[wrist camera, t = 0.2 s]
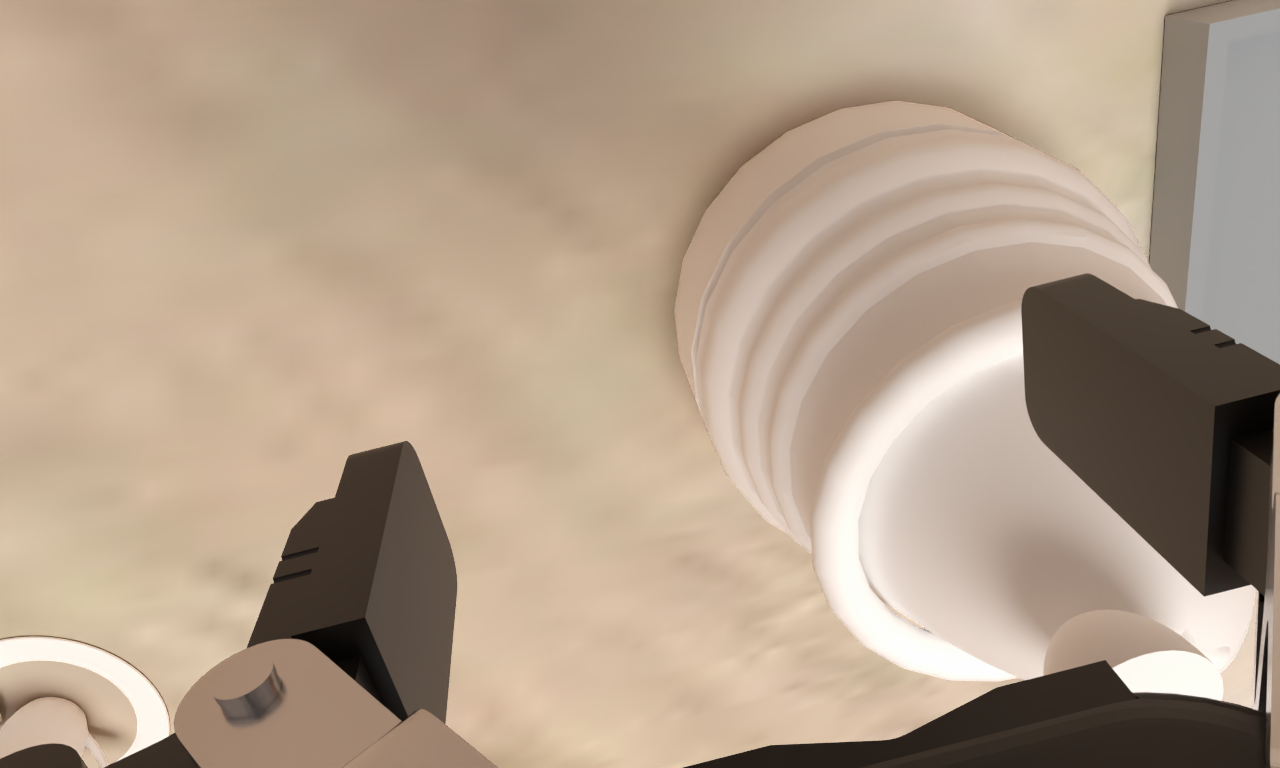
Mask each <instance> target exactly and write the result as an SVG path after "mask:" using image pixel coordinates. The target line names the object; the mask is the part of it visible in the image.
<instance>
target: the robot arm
mask: <svg viewBox="0 0 1280 768" xmlns="http://www.w3.org/2000/svg"><path fill="white" fill-rule="evenodd" d="M1021 314H1022V337H1023V361H1024V384H1025V401H1026V407H1027V411H1028V414H1029V418H1030V421H1031V423H1032V426H1033V428H1034V430H1035V432H1036V433H1037V435H1038V437H1039V438H1040V440H1041V441H1042V442H1043V443H1044V444H1045V445H1046V446H1047V447H1048V448H1049V449H1050V450H1051V451H1052V452H1053V453H1054V454H1055V455H1056V456H1057V457H1058V458H1059V459H1060V460H1061V461H1063V462H1064V463H1065V464H1066V465H1067V466H1068V467H1069V468H1070V469H1071V470H1072V471H1073V472H1074V473H1075V474H1076V475H1077V476H1078V477H1079V478H1080V479H1081V480H1082V481H1083V482H1085V483H1086V484H1087V485H1088V486H1089V487H1090V488H1091V489H1092V490H1093V491H1094V492H1095V493H1096V494H1097V495H1098V496H1099V497H1100V498H1101V499H1102V500H1103V501H1104V502H1105V503H1107V504H1108V505H1109V506H1110V507H1111V508H1112V509H1113V510H1114V511H1115V512H1116V513H1117V514H1118V515H1119V516H1120V517H1121V518H1122V519H1123V520H1124V521H1125V522H1126V523H1127V524H1129V525H1130V526H1131V527H1132V528H1133V529H1134V530H1135V531H1136V532H1137V533H1138V534H1139V535H1140V536H1141V537H1142V538H1143V539H1144V540H1145V541H1146V542H1147V543H1148V544H1149V545H1150V546H1152V547H1153V548H1154V549H1155V550H1156V551H1157V552H1158V553H1159V554H1160V555H1161V556H1162V557H1163V558H1164V559H1165V560H1166V561H1167V562H1168V563H1169V564H1170V565H1171V566H1172V567H1174V568H1175V569H1176V570H1177V571H1178V572H1179V573H1180V574H1181V575H1182V576H1183V577H1184V578H1185V579H1186V580H1187V581H1188V582H1189V583H1190V584H1191V585H1192V586H1193V587H1194V588H1196V589H1197V590H1198V591H1199V592H1200V593H1201V594H1202V595H1203V596H1204V597H1205V596H1209V595H1213V594H1217V593H1221V592H1225V591H1229V590H1233V589H1237V588H1240V587H1244V586H1248V585H1252V586H1253V587H1254V588H1255V589H1257V590H1258V601H1257V613H1256V630H1255V654H1254V678H1253V701H1252V709H1251V708H1248V707H1244V706H1241V705H1238V704H1233V703H1229V702H1224V701H1219V700H1215V699H1210V698H1205V697H1197V696H1190V695H1182V694H1173V693H1152V692H1136V693H1132V692H1131V691H1130V689H1129V688H1128V687H1127V686H1126V684H1125V683H1124V682H1123V681H1122V680H1121V678H1120V677H1119V676H1118V675H1117V673H1116V672H1115V671H1114V670H1113V669H1112V667H1111V666H1110V665H1109V664H1108V662H1107V661H1106V660H1103V661H1099V662H1096V663H1092V664H1088V665H1084V666H1080V667H1076V668H1072V669H1068V670H1064V671H1060V672H1056V673H1052V674H1049V675H1045V676H1041V677H1037V678H1033V679H1029V680H1025V681H1021V682H1017V683H1013V684H1009V685H1005V686H1001V687H998V688H995V689H993V690H991V691H989V692H987V693H986V694H984V695H982V696H980V697H978V698H976V699H974V700H972V701H970V702H968V703H966V704H964V705H962V706H960V707H958V708H956V709H954V710H953V711H951V712H949V713H947V714H945V715H943V716H941V717H939V718H937V719H935V720H933V721H931V722H929V723H927V724H925V725H923V726H921V727H920V728H918V729H916V730H914V731H912V732H910V733H908V734H906V735H904V736H901V737H899V738H895V739H891V740H883V741H862V742H839V743H815V744H792V745H770V746H766V747H762V748H758V749H755V750H751V751H747V752H743V753H739V754H735V755H731V756H727V757H723V758H719V759H715V760H711V761H707V762H704V763H700V764H696V765H692V766H688V767H684V768H1280V364H1278V363H1276V362H1274V361H1273V360H1271V359H1269V358H1267V357H1266V356H1264V355H1262V354H1260V353H1258V352H1257V351H1255V350H1253V349H1251V348H1249V347H1248V346H1246V345H1244V344H1242V343H1239V344H1236V343H1235V339H1233V338H1231V337H1230V336H1228V335H1226V334H1224V333H1222V332H1221V331H1219V330H1217V329H1214V330H1211V328H1210V325H1208V324H1206V323H1204V322H1203V321H1201V320H1199V319H1197V318H1196V317H1194V316H1192V315H1190V314H1188V313H1187V312H1185V311H1183V310H1181V309H1178V308H1174V307H1170V306H1166V305H1162V304H1158V303H1154V302H1150V301H1146V300H1142V299H1134V298H1132V297H1130V296H1129V295H1127V294H1125V293H1124V292H1122V291H1120V290H1118V289H1117V288H1115V287H1113V286H1112V285H1110V284H1108V283H1106V282H1105V281H1103V280H1101V279H1100V278H1098V277H1096V276H1094V275H1092V274H1089V273H1085V274H1081V275H1077V276H1073V277H1069V278H1065V279H1061V280H1057V281H1053V282H1049V283H1045V284H1041V285H1037V286H1033V287H1029V288H1028V289H1027V290H1026V291H1025V293H1024V295H1023V299H1022V306H1021ZM281 557H282V561H280V562H279V564H278V567H277V569H276V572H275V575H274V577H273V580H274V584H271V585H270V588H269V590H268V593H267V596H266V598H265V601H264V604H263V606H262V609H261V612H260V614H259V617H258V620H257V622H256V625H255V628H254V630H253V633H252V636H251V638H250V641H249V644H248V646H247V649H244V650H242V651H240V652H238V653H236V654H234V655H232V656H231V657H229V658H227V659H225V660H224V661H222V662H221V663H219V664H218V665H216V666H215V667H213V668H212V669H211V670H209V671H208V672H207V673H206V674H205V675H204V676H202V677H201V678H200V679H199V680H198V681H197V682H196V683H195V684H194V685H193V686H192V687H191V689H190V690H189V691H188V692H187V694H186V695H185V696H184V698H183V700H182V701H181V703H180V705H179V707H178V709H177V712H176V714H175V719H174V729H175V733H174V734H172V735H170V736H168V737H166V738H164V739H163V740H161V741H159V742H157V743H155V744H152V745H150V746H148V747H146V748H144V749H142V750H140V751H138V752H136V753H134V754H131V755H129V756H127V757H125V758H123V759H121V760H119V761H117V762H115V763H112V764H110V765H108V766H106V767H104V768H498V767H497V766H496V765H494V764H493V763H492V762H491V761H490V760H488V759H487V758H486V757H485V756H483V755H482V754H481V753H480V752H479V751H477V750H476V749H475V748H474V747H472V746H471V745H470V744H469V743H467V742H466V741H465V740H464V739H463V738H461V737H460V736H459V735H458V734H456V733H455V732H454V731H453V730H451V729H450V728H449V727H448V726H447V725H445V721H446V710H447V698H448V687H449V676H450V664H451V653H452V642H453V630H454V619H455V607H456V596H457V575H456V568H455V562H454V557H453V553H452V549H451V546H450V543H449V540H448V537H447V534H446V531H445V529H444V526H443V523H442V521H441V518H440V515H439V512H438V510H437V507H436V504H435V502H434V499H433V496H432V493H431V491H430V488H429V485H428V483H427V480H426V477H425V475H424V472H423V469H422V466H421V464H420V461H419V459H418V456H417V454H416V452H415V450H414V448H413V446H412V445H411V444H410V443H409V442H408V441H405V442H401V443H397V444H393V445H389V446H385V447H381V448H377V449H373V450H369V451H364V452H360V453H356V454H352V455H350V456H349V457H348V459H347V462H346V465H345V468H344V471H343V474H342V477H341V480H340V483H339V486H338V490H337V493H336V496H335V498H332V499H328V500H324V501H320V502H316V503H315V504H314V506H313V507H312V508H311V509H310V510H309V511H308V512H307V513H306V514H305V515H304V516H303V518H302V519H301V520H300V521H299V522H298V523H297V524H296V525H295V526H294V527H293V528H292V529H291V532H290V535H289V537H288V540H287V543H286V545H285V548H284V551H283V553H282V556H281ZM0 768H87V766H86V764H85V763H84V761H83V760H82V758H81V757H80V755H79V754H78V752H77V751H76V750H75V749H73V748H72V747H71V746H68V745H64V744H55V743H51V744H41V745H37V746H33V747H29V748H26V749H23V750H20V751H17V752H14V753H12V754H10V755H8V756H5V757H3V758H1V759H0Z"/></svg>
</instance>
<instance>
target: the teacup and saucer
mask: <svg viewBox="0 0 1280 768" xmlns="http://www.w3.org/2000/svg"><path fill="white" fill-rule="evenodd" d="M36 660H46V661H58V662H64V663H69V664H73V665H77V666H80V667H83V668H86V669H88V670H91V671H93V672H95V673H97V674H99V675H101V676H103V677H105V678H106V679H108V680H109V681H111V682H112V683H113V684H115V685H116V686H117V687H118V688H119V689H120V690H121V691H122V692H123V693H124V694H125V695H126V696H127V698H128V699H129V701H130V702H131V704H132V706H133V708H134V710H135V713H136V717H137V734H136V737H135V740H134V742H133V744H132V746H131V747H130V749H129V750H128V751H127V752H126V753H125V755H123V756H122V757H121V758H120V759H119V760H121V759H123V758H125V757H127V756H129V755H131V754H134V753H136V752H138V751H140V750H142V749H144V748H146V747H148V746H150V745H152V744H155V743H157V742H159V741H161V740H163V739H164V738H166V737H168V736H169V735H170V721H169V715H168V712H167V709H166V706H165V704H164V701H163V699H162V698H161V696H160V694H159V693H158V691H157V690H156V688H155V687H154V686H153V685H152V683H151V682H150V681H149V680H148V679H147V678H146V677H145V676H144V675H143V674H142V673H140V672H139V671H138V670H137V669H135V668H134V667H133V666H131V665H130V664H128V663H127V662H125V661H124V660H122V659H120V658H119V657H117V656H115V655H113V654H111V653H109V652H106V651H104V650H102V649H99V648H97V647H94V646H91V645H88V644H84V643H81V642H77V641H72V640H67V639H62V638H54V637H40V636H28V637H15V638H8V639H2V640H0V668H1V667H4V666H7V665H10V664H14V663H19V662H25V661H36ZM0 723H1V713H0ZM51 743H55V744H64V745H68V746H71V747H72V748H73V749H75V750H76V751H77V752H78V754H79V755H80V757H81V758H82V755H83V752H84V748H85V747H86V748H88V749H89V750H90V751H91V753H92V754H93V756H94V757H95V759H96V761H97V763H98V765H99V767H100V768H104V767H106V766H108V765H109V764H108V761H107V759H106V757H105V755H104V753H103V751H102V749H101V748H100V746H99V745H98V743H97V742H96V740H95V739H94V738H93V737H92V736H91V735H90V733H89V732H88V727H87V721H86V716H85V714H84V712H83V711H82V709H81V708H80V707H79V706H77V705H76V704H74V703H73V702H71V701H69V700H66V699H63V698H58V697H42V698H38V699H35V700H33V701H31V702H29V703H27V704H26V705H24V706H23V707H21V708H20V709H19V710H18V711H16V712H15V713H14V714H13V715H12V716H11V717H10V718H9V719H8V720H7V721H6V722H5V724H4V725H3V726H2V727H1V728H0V759H1V758H3V757H5V756H8V755H10V754H12V753H14V752H17V751H20V750H23V749H26V748H29V747H33V746H37V745H41V744H51ZM119 760H117V761H119ZM117 761H116V762H117ZM114 763H115V762H114Z"/></svg>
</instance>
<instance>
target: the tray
mask: <svg viewBox="0 0 1280 768" xmlns="http://www.w3.org/2000/svg"><path fill="white" fill-rule="evenodd" d="M1149 264H1150V266H1151V268H1152V270H1153V271H1154V272H1155V273H1156V274H1157V275H1158V276H1159V277H1160V278H1161V279H1162V280H1163V281H1164V282H1165V283H1166V284H1167V286H1168V288H1169V290H1170V292H1171V294H1172V296H1173V298H1174V300H1175V303H1176V305H1177V307H1178V309H1181V310H1183V311H1185V312H1187V313H1188V314H1190V315H1192V316H1194V317H1196V318H1197V319H1199V320H1201V321H1203V322H1204V323H1206V324H1208V325H1210V328H1211V330H1214V329H1217V330H1219V331H1221V332H1222V333H1224V334H1226V335H1228V336H1230V337H1231V338H1233V339H1235V343H1236V344H1239V343H1242V344H1244V345H1246V346H1248V347H1249V348H1251V349H1253V350H1255V351H1257V352H1258V353H1260V354H1262V355H1264V356H1266V357H1267V358H1269V359H1271V360H1273V361H1274V362H1276V363H1278V364H1280V0H1233V1H1229V2H1224V3H1220V4H1215V5H1211V6H1206V7H1202V8H1197V9H1193V10H1188V11H1184V12H1180V13H1175V14H1171V15H1166V16H1165V31H1164V46H1163V61H1162V77H1161V92H1160V107H1159V122H1158V138H1157V153H1156V168H1155V183H1154V199H1153V214H1152V229H1151V245H1150V260H1149Z"/></svg>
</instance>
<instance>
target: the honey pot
mask: <svg viewBox="0 0 1280 768" xmlns="http://www.w3.org/2000/svg"><path fill="white" fill-rule="evenodd" d="M1085 273H1089V274H1092V275H1094V276H1096V277H1098V278H1100V279H1101V280H1103V281H1105V282H1106V283H1108V284H1110V285H1112V286H1113V287H1115V288H1117V289H1118V290H1120V291H1122V292H1124V293H1125V294H1127V295H1129V296H1130V297H1132V298H1134V299H1142V300H1146V301H1150V302H1154V303H1158V304H1162V305H1166V306H1170V307H1174V308H1178V307H1177V305H1176V303H1175V300H1174V298H1173V296H1172V294H1171V292H1170V290H1169V288H1168V286H1167V284H1166V283H1165V282H1164V281H1163V280H1162V279H1161V278H1160V277H1159V276H1158V275H1157V274H1156V273H1155V272H1154V271H1153V270H1152V268H1151V266H1150V264H1149V262H1148V260H1147V258H1146V256H1145V254H1144V253H1143V251H1142V249H1141V247H1140V245H1139V243H1138V241H1137V239H1136V237H1135V235H1134V233H1133V231H1132V229H1131V227H1130V225H1129V223H1128V221H1127V219H1126V217H1125V216H1124V214H1123V213H1122V212H1121V211H1120V210H1119V209H1118V208H1117V207H1116V206H1115V205H1114V204H1113V203H1112V202H1111V201H1110V200H1109V199H1108V198H1107V197H1106V196H1105V195H1104V194H1103V193H1102V192H1101V191H1100V190H1099V189H1098V188H1097V187H1095V186H1094V185H1093V184H1092V183H1091V182H1090V181H1089V180H1088V179H1087V178H1086V177H1085V176H1084V175H1083V174H1082V173H1081V172H1080V171H1079V170H1078V169H1076V168H1074V167H1072V166H1070V165H1068V164H1066V163H1063V162H1061V161H1059V160H1058V159H1056V158H1053V157H1051V156H1049V155H1047V154H1045V153H1043V152H1041V151H1039V150H1037V149H1035V148H1033V147H1031V146H1029V145H1027V144H1025V143H1023V142H1021V141H1019V140H1017V139H1014V138H1012V137H1010V136H1008V135H1006V134H1004V133H1002V132H1000V131H998V130H996V129H994V128H992V127H990V126H987V125H985V124H983V123H981V122H979V121H977V120H975V119H972V118H970V117H968V116H966V115H964V114H962V113H960V112H957V111H955V110H953V109H951V108H949V107H942V106H934V105H927V104H919V103H912V102H904V101H897V100H895V101H889V102H882V103H875V104H868V105H861V106H855V107H848V108H841V109H838V110H836V111H834V112H831V113H829V114H827V115H824V116H822V117H820V118H817V119H815V120H813V121H810V122H808V123H806V124H803V125H801V126H799V127H796V128H794V129H792V130H789V131H787V132H786V133H785V134H783V135H782V136H781V137H779V138H778V139H777V140H775V141H774V142H773V143H771V144H770V145H769V146H767V147H766V148H765V149H763V150H762V151H761V152H759V153H758V154H757V155H756V156H754V157H753V158H752V159H750V160H749V161H748V162H746V163H745V164H744V165H742V166H741V167H740V168H739V170H738V171H737V172H736V173H735V175H734V176H733V177H732V178H731V180H730V181H729V182H728V183H727V185H726V186H725V187H724V188H723V189H722V191H721V192H720V193H719V194H718V196H717V197H716V198H715V199H714V201H713V202H712V203H711V204H710V206H709V207H708V208H707V209H706V210H705V213H704V215H703V217H702V219H701V221H700V223H699V226H698V228H697V230H696V232H695V234H694V236H693V239H692V241H691V243H690V245H689V247H688V249H687V252H686V254H685V256H684V258H683V261H682V267H681V273H680V278H679V284H678V290H677V296H676V302H675V307H674V313H675V323H676V332H677V341H678V350H679V358H680V360H681V363H682V366H683V368H684V371H685V374H686V376H687V379H688V382H689V384H690V387H691V390H692V392H693V395H694V398H695V400H696V403H697V405H698V408H699V410H700V413H701V416H702V418H703V421H704V423H705V425H706V429H707V432H708V434H709V437H710V439H711V441H712V444H713V446H714V448H715V451H716V453H717V455H718V458H719V460H720V462H721V465H722V467H723V469H724V472H725V474H726V476H727V477H728V478H729V479H730V480H731V482H732V483H733V484H734V485H735V486H736V487H737V489H738V490H739V491H740V492H741V493H742V494H743V495H744V497H745V498H746V499H747V500H748V501H749V502H750V504H751V505H752V506H753V507H754V508H755V509H756V510H757V512H758V513H759V514H760V515H761V516H762V517H763V519H764V520H765V521H767V522H769V523H770V524H772V525H773V526H775V527H777V528H778V529H780V530H781V531H783V532H785V533H786V534H788V535H789V536H791V537H792V538H793V540H794V541H795V542H796V543H798V544H799V545H801V546H803V547H804V548H806V550H807V551H808V552H809V553H810V554H811V556H812V563H813V568H814V570H815V573H816V575H817V578H818V580H819V583H820V586H821V588H822V591H823V593H824V596H825V598H826V601H827V603H828V606H829V608H830V609H831V610H832V611H833V613H834V614H835V615H836V616H837V617H838V618H839V620H840V621H841V622H842V623H843V624H844V625H845V626H846V628H847V629H848V630H849V631H850V632H851V633H852V634H853V636H854V637H855V638H856V639H857V640H858V641H859V642H860V644H861V645H863V646H865V647H866V648H868V649H870V650H871V651H873V652H875V653H876V654H878V655H880V656H882V657H883V658H885V659H887V660H888V661H890V662H892V663H893V664H895V665H897V666H899V667H901V668H904V669H907V670H911V671H915V672H919V673H923V674H926V675H930V676H934V677H938V678H942V679H946V680H950V681H1004V680H1009V679H1014V678H1020V679H1023V680H1029V679H1033V678H1037V677H1041V676H1045V675H1049V674H1052V673H1056V672H1060V671H1064V670H1068V669H1072V668H1076V667H1080V666H1084V665H1088V664H1092V663H1096V662H1099V661H1103V660H1106V661H1107V662H1108V664H1109V665H1110V666H1111V667H1112V669H1113V670H1114V671H1115V672H1116V673H1117V675H1118V676H1119V677H1120V678H1121V680H1122V681H1123V682H1124V683H1125V684H1126V686H1127V687H1128V688H1129V689H1130V691H1131V692H1132V693H1136V692H1152V693H1173V694H1182V695H1190V696H1197V697H1205V698H1210V699H1215V700H1219V701H1222V697H1223V681H1222V678H1221V675H1220V674H1221V673H1222V672H1223V671H1224V670H1225V669H1226V668H1227V667H1228V665H1229V664H1230V663H1231V662H1232V661H1233V660H1234V658H1235V656H1236V655H1237V653H1238V651H1239V649H1240V647H1241V645H1242V643H1243V641H1244V638H1245V636H1246V634H1247V632H1248V629H1249V625H1250V621H1251V617H1252V613H1253V608H1254V602H1255V595H1256V589H1255V588H1254V587H1253V586H1252V585H1248V586H1244V587H1240V588H1237V589H1233V590H1229V591H1225V592H1221V593H1217V594H1213V595H1209V596H1205V597H1204V596H1203V595H1202V594H1201V593H1200V592H1199V591H1198V590H1197V589H1196V588H1194V587H1193V586H1192V585H1191V584H1190V583H1189V582H1188V581H1187V580H1186V579H1185V578H1184V577H1183V576H1182V575H1181V574H1180V573H1179V572H1178V571H1177V570H1176V569H1175V568H1174V567H1172V566H1171V565H1170V564H1169V563H1168V562H1167V561H1166V560H1165V559H1164V558H1163V557H1162V556H1161V555H1160V554H1159V553H1158V552H1157V551H1156V550H1155V549H1154V548H1153V547H1152V546H1150V545H1149V544H1148V543H1147V542H1146V541H1145V540H1144V539H1143V538H1142V537H1141V536H1140V535H1139V534H1138V533H1137V532H1136V531H1135V530H1134V529H1133V528H1132V527H1131V526H1130V525H1129V524H1127V523H1126V522H1125V521H1124V520H1123V519H1122V518H1121V517H1120V516H1119V515H1118V514H1117V513H1116V512H1115V511H1114V510H1113V509H1112V508H1111V507H1110V506H1109V505H1108V504H1107V503H1105V502H1104V501H1103V500H1102V499H1101V498H1100V497H1099V496H1098V495H1097V494H1096V493H1095V492H1094V491H1093V490H1092V489H1091V488H1090V487H1089V486H1088V485H1087V484H1086V483H1085V482H1083V481H1082V480H1081V479H1080V478H1079V477H1078V476H1077V475H1076V474H1075V473H1074V472H1073V471H1072V470H1071V469H1070V468H1069V467H1068V466H1067V465H1066V464H1065V463H1064V462H1063V461H1061V460H1060V459H1059V458H1058V457H1057V456H1056V455H1055V454H1054V453H1053V452H1052V451H1051V450H1050V449H1049V448H1048V447H1047V446H1046V445H1045V444H1044V443H1043V442H1042V441H1041V440H1040V438H1039V437H1038V435H1037V433H1036V432H1035V430H1034V428H1033V426H1032V423H1031V421H1030V418H1029V414H1028V411H1027V407H1026V401H1025V384H1024V361H1023V337H1022V314H1021V306H1022V299H1023V295H1024V293H1025V291H1026V290H1027V289H1028V288H1029V287H1033V286H1037V285H1041V284H1045V283H1049V282H1053V281H1057V280H1061V279H1065V278H1069V277H1073V276H1077V275H1081V274H1085ZM881 600H882V601H883V602H884V603H886V604H887V605H889V606H890V607H892V608H894V609H895V610H897V611H898V612H900V613H901V614H903V615H905V616H906V617H908V618H909V619H911V620H912V621H914V622H916V623H917V624H919V625H921V626H922V627H924V628H925V629H927V630H925V629H922V628H918V627H916V626H915V625H913V624H911V623H910V622H908V621H906V620H905V619H903V618H902V617H900V616H898V615H897V614H895V613H893V612H892V611H890V610H889V609H888V608H887V607H886V606H885V605H884V603H883V602H882V601H881Z"/></svg>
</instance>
